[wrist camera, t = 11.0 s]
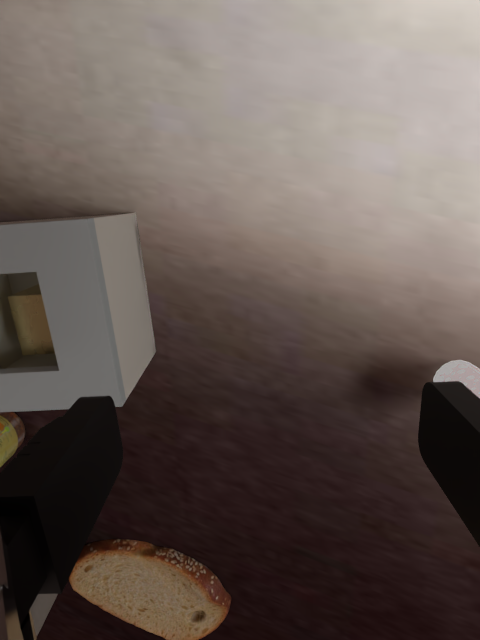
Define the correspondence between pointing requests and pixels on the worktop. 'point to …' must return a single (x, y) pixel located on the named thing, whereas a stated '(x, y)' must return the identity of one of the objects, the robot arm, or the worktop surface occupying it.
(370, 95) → the worktop surface
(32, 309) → the tall khaki box
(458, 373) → the beverage cup
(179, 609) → the slice of bread
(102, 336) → the grey box with opening
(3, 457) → the sauce bottle
